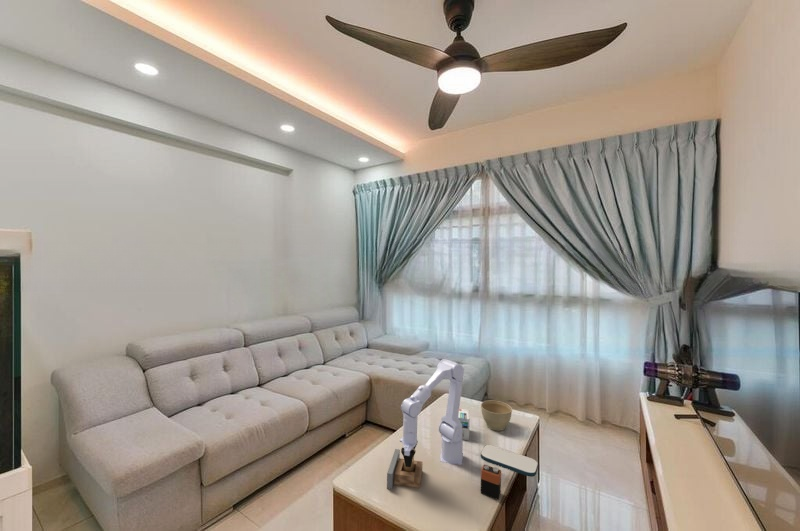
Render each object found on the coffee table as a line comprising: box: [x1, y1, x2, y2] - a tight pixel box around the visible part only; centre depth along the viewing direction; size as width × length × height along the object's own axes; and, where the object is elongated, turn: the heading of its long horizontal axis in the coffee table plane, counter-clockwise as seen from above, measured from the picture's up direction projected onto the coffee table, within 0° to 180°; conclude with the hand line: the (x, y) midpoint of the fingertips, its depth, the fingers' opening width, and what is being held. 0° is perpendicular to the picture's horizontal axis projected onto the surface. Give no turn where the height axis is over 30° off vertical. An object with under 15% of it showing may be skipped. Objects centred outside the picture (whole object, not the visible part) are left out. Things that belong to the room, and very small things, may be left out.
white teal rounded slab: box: [480, 444, 539, 478], centre depth 140 cm, size 24×12×2 cm, turn 58°
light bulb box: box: [458, 408, 471, 441], centre depth 161 cm, size 11×7×11 cm, turn 168°
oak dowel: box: [404, 448, 415, 472], centre depth 126 cm, size 4×4×8 cm
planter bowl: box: [480, 400, 513, 432], centre depth 169 cm, size 16×16×11 cm
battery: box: [480, 464, 502, 500], centre depth 120 cm, size 4×7×10 cm, turn 61°
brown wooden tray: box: [393, 457, 424, 489], centre depth 126 cm, size 10×10×4 cm
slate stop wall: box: [386, 448, 401, 490], centre depth 128 cm, size 2×16×6 cm, turn 170°
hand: (409, 462), depth 126 cm, fingers closed on oak dowel, 4 cm apart
